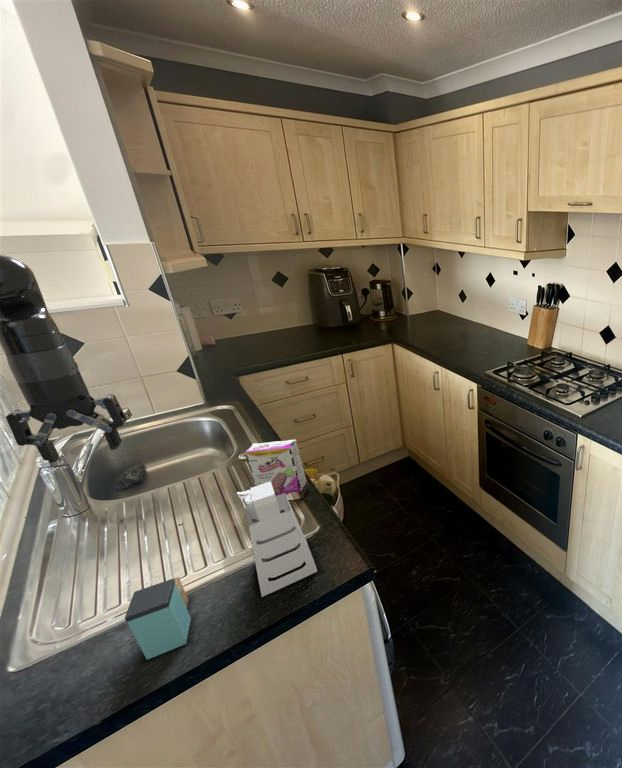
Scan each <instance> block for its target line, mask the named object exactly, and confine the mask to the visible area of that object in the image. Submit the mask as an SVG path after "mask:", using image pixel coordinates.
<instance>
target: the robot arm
mask: <svg viewBox="0 0 622 768" xmlns="http://www.w3.org/2000/svg"><path fill="white" fill-rule="evenodd" d="M0 348H1V349H2V351H3V354H4V355H5V357H6V361H7V364H8V367H9V370H10V372H11V374H12V375H13V378H14V380H15V381H16V383H17V386H18V388H19V390H20V391H21V393H22V396H23V397H24V400H25V402H26V404H28V406H29V410H28V409H27V410H22V409H14V410H13V411H11V412H10V413H9V414H7V415H6V416H5V420H6V421H7V424H8V426H9V428H10V430H11V433H12V435H13V438H14V440H15V442H16V445H18V446H21V447H23V446H26V445H27V446H35V448H36V449H37V451H38V452H39V454H40V456H41V458H42V459H43V460H44V461H45V462H47V461H48V463H49V464H52V463H56V462H58V460H60V455H59V452H58V450H57V448H56V446H55V444H54V442H53V441H52V439H50V437H51V435H52V433H53V431H54V430H55V429H58V430H63V429H68V428H70V427H79V426H83V425H84V424H85V425H87V426H90V427H92V428H96V429H98V430H101V431H102V432H104V433H103V436H104V437H105V440H106V442H107V444H108V447H109V449H110V450H111V451H114V450H117V449H118V448H119V447H120V445H121V444H122V438H121V435H120V433H119V431H118V428H121V427H123V426H124V425H125V423H126V422H127V421H128V418H127V416H126V414H125V411H124V410H123V408H122V407H121V405H120V402H119V401H118V399H117V397H116V395H114V394H108V395H106V396H104V397H98V398H94V397H92V395H91V394H90V392H89V389H88V387H87V385H86V383H85V380H84V378H83V376H82V373H81V371H80V370H79V365H78V363H77V362H76V360H75V358H74V357H73V354H72V352H71V351H70V350H69V348H68V347H67V345H66V342H65V340H64V338H63V336H62V334H61V332H60V329H59V327H58V325H57V323H56V322H55V320H54V319H53V317H52V315H51V314H50V313H49V309H48V308H47V304H46V302H45V300H44V297H43V294H42V291H41V289H40V286H39V284H38V280H37V278H36V275H35V273H34V271H33V270H32V269H31V267H29V266H28V265H27V264H26V263H24V262H23V261H22V260H19V259H17V258H16V257H13V256H10V255H5V254H0ZM97 406H99V407H100V408H102V410H103V409H104V410H106V411H107V413H108V415H109V416H110V417H109V418H110V419H109V418H108V417H106V416H105V415H104V414H102V413H101V412H98V411H96V410H95V409H96V407H97ZM31 418H32V419H34V420H36V421H38V422H40V423H42V424H41V426H40V427H39V429H38V430H37V432H36V433H37V434H36V435H35V434H33V432H32V430H31V427H30V425H29V421H30V420H31ZM49 439H50V440H49Z"/></svg>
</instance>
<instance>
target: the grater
mask: <svg viewBox="0 0 622 768" xmlns="http://www.w3.org/2000/svg"><path fill="white" fill-rule="evenodd" d="M249 489H250V493H251V498H252V502H253V504H249V505H247V506H245V507H244V509H245V513H246V519H247V520H246V521H247V526H248V531H249V537H250V542H251V546H252V553H253V557H254V558H253V559H254V563H255V568H256V573H257V579H258V585H259V590H260V595H261V596H260V597H261V598H263V597H265V596H267V595H269V594H272V593H274V592H277V591H278V590H280V589H283V588H285V587H287V586H289V585H291V584H293V583H296V582H297V581H300V580H302V579H305V578H307V577H308V576H311V575H313V574H315V573H318V569H317V566H316V563H315V560H314V557H313V554H312V552H311V549H310V547H309V544H308V541H307V539H306V537H305V535H304V532H303V530H302V528H301V525H300V524H299V521H298V519H297V517H296V514H295V512H294V510H293V508H292V505H291V504H290V502H289V501H288V499H287V496H286V494H285V493H284V494H281V495H278V496H275V493H274V490H273V487H272V483H271V481H270V482H267V483H264V484H261V485H258V486H252V487H250V488H249ZM281 511H283V512H281ZM253 520H258V521H253ZM303 564H305V565H304V566H303V567H301V566H302V565H303ZM299 567H301V568H299ZM297 568H299V569H297ZM295 569H297V570H295ZM293 570H295V571H293ZM290 571H293V572H291V573H288V572H290ZM286 573H288V574H286ZM284 574H286V575H284ZM281 575H284V576H282V577H280V578H278V579H275V580H270V581H269V578H271V579H273V578H276V577H279V576H281Z"/></svg>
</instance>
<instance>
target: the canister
mask: <svg viewBox="0 0 622 768" xmlns="http://www.w3.org/2000/svg"><path fill="white" fill-rule="evenodd" d="M174 578H175V577H174ZM174 578H171V579H167V580H165V581H161V582H159V583H155V584H153V585H150V586H146V587H144V588H141V589H139V590H135V591H134V592H133V594H132V596H131V597H132V598H131V600H130V602H129V606H128V607H127V611H126V614H125V616H124V620H125V622H126V623H127V625H128V627H129V629H130V631H131V633H132V635H133V636H134V639H135V640H136V642H137V644H138V645H139V648H140V650H141V652H142V654H143V656H144V657H145V659H146V661H148V660H150V659H153V658H155V657H158V656H160V655H163V654H164V653H168V652H170V651H172V650H174V649H177V648H179V647H182V646H184V645H186V644H187V642H188V641H187V640H188V635H189V631H190V626H191V621H192V617H191V615H190V613H189V611H188V607H187V608H186V606H185V604H184V601H183V599H182V597H181V594H180V592H179V590H178V588H177V585H176V583H175V580H174Z"/></svg>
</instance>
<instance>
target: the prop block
mask: <svg viewBox="0 0 622 768" xmlns="http://www.w3.org/2000/svg"><path fill="white" fill-rule="evenodd" d="M174 580H175V583H176V585H177V588H178V590H179V592H180V594H181V597H182V599H183V601H184V604H185V606H186V608H187V609H188V604H189V597H188V594H187V593H186V590H185V589H184V586H183V583H182V581H181V578H180V577H179V576H177V577H174Z"/></svg>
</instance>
